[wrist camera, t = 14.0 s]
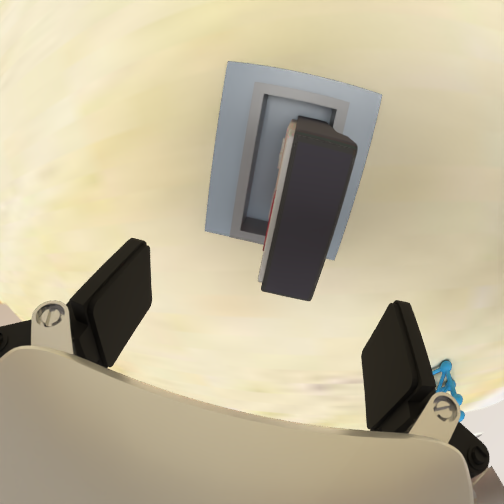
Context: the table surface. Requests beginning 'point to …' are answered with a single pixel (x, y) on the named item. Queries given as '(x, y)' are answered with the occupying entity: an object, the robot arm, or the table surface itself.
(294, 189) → the multicoloured piece
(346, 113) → the desk holder
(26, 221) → the table surface
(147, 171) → the table surface
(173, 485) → the robot arm
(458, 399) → the molecular structure
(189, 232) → the table surface
